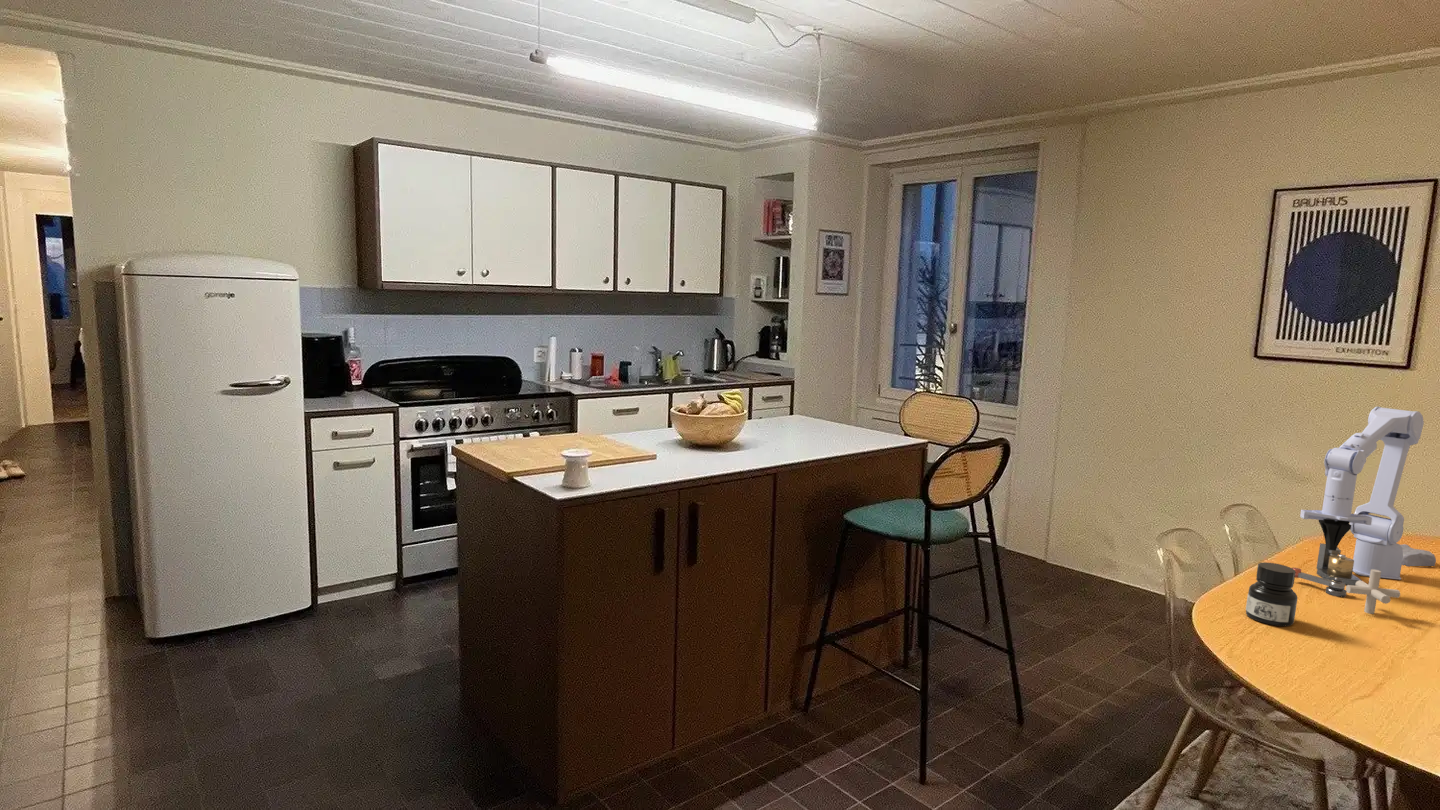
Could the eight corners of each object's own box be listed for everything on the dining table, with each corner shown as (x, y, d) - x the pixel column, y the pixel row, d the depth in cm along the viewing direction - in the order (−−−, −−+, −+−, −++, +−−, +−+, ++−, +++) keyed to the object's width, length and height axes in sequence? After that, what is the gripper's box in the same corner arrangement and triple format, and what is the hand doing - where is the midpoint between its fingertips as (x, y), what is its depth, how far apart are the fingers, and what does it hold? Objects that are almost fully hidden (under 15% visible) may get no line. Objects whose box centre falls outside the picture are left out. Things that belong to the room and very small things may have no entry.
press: (1337, 570, 211) (1341, 545, 210) (1361, 586, 199) (1365, 559, 198) (1307, 567, 213) (1311, 542, 212) (1329, 582, 201) (1333, 556, 200)
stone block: (1404, 573, 217) (1440, 567, 217) (1403, 556, 216) (1439, 550, 216) (1367, 560, 228) (1401, 554, 229) (1366, 544, 228) (1400, 538, 228)
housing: (1346, 572, 205) (1349, 553, 204) (1355, 578, 200) (1358, 559, 200) (1324, 569, 207) (1326, 550, 206) (1331, 575, 202) (1334, 556, 201)
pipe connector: (1408, 623, 176) (1415, 580, 175) (1357, 618, 178) (1364, 575, 177) (1380, 606, 186) (1387, 565, 185) (1332, 601, 188) (1339, 561, 186)
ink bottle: (1235, 615, 177) (1242, 563, 176) (1254, 607, 182) (1261, 557, 180) (1284, 631, 169) (1292, 577, 168) (1303, 623, 174) (1311, 571, 172)
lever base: (1340, 592, 195) (1343, 576, 194) (1349, 598, 191) (1351, 582, 190) (1322, 590, 196) (1324, 574, 195) (1330, 595, 192) (1332, 580, 191)
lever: (1293, 574, 202) (1294, 566, 202) (1346, 589, 192) (1347, 581, 192) (1288, 576, 200) (1289, 568, 200) (1340, 591, 191) (1342, 583, 191)
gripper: (1312, 497, 194) (1304, 550, 196) (1381, 503, 191) (1373, 557, 192) (1299, 490, 201) (1292, 542, 203) (1366, 496, 197) (1358, 548, 199)
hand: (1330, 549), depth 198 cm, fingers closed
